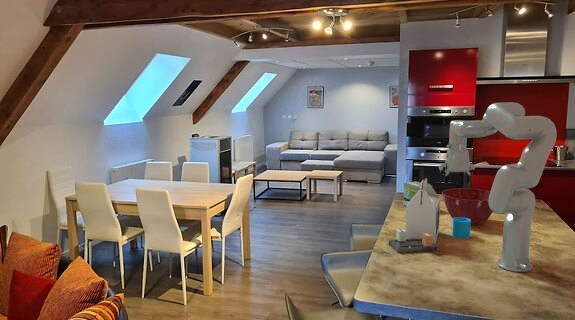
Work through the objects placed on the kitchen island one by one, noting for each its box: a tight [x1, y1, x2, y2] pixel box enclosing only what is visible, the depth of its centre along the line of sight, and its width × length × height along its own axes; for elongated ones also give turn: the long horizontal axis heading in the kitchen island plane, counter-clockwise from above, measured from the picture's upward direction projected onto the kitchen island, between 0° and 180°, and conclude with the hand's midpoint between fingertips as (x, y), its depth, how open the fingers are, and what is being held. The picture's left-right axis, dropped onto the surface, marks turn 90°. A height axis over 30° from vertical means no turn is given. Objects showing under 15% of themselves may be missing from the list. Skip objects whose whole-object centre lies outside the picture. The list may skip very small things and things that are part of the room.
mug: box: [451, 217, 472, 239], centre depth 225 cm, size 12×8×8 cm
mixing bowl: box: [441, 187, 494, 226], centre depth 248 cm, size 28×28×15 cm
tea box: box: [403, 181, 433, 207], centre depth 280 cm, size 15×10×15 cm, turn 25°
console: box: [388, 238, 439, 254], centre depth 207 cm, size 12×18×2 cm, turn 96°
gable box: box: [405, 177, 441, 245], centre depth 221 cm, size 22×13×28 cm, turn 157°
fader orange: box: [422, 233, 433, 246], centre depth 203 cm, size 4×3×5 cm
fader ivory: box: [395, 228, 406, 242], centre depth 210 cm, size 4×3×5 cm
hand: (456, 183), depth 216 cm, fingers open, 9 cm apart
